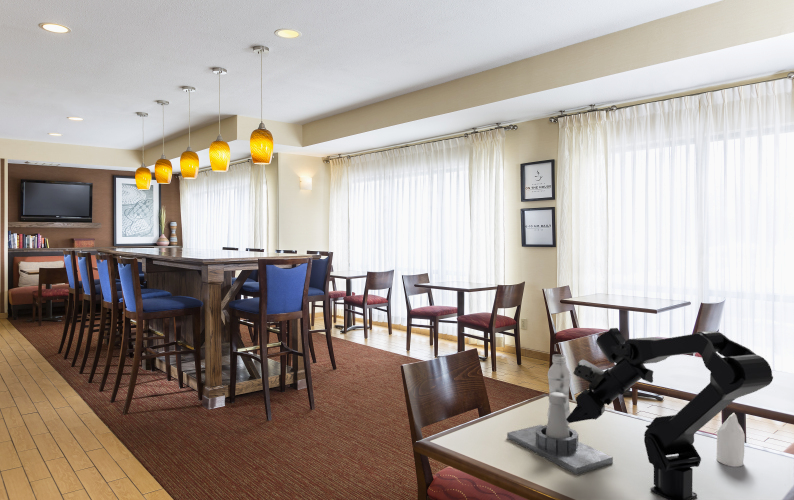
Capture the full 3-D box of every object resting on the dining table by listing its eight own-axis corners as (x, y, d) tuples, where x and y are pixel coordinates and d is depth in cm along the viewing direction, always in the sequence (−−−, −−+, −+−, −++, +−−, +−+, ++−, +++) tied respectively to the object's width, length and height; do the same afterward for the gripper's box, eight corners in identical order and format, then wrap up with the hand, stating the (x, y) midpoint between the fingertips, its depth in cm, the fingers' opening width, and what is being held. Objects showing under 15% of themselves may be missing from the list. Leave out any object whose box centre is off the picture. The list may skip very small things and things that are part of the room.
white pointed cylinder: (716, 406, 126) (744, 410, 123) (716, 454, 126) (743, 459, 124) (717, 413, 121) (745, 417, 118) (716, 463, 121) (745, 469, 118)
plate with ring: (612, 463, 122) (612, 444, 122) (576, 474, 117) (576, 455, 117) (540, 429, 143) (540, 414, 143) (507, 438, 138) (507, 421, 138)
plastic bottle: (547, 428, 144) (547, 358, 144) (547, 420, 151) (547, 352, 150) (571, 430, 143) (571, 359, 142) (570, 422, 149) (570, 353, 148)
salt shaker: (571, 450, 126) (571, 397, 126) (546, 448, 128) (546, 396, 127) (567, 440, 132) (567, 390, 132) (544, 439, 133) (544, 389, 133)
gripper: (603, 343, 132) (560, 380, 138) (585, 358, 116) (537, 399, 123) (636, 378, 128) (590, 414, 134) (622, 399, 112) (571, 438, 118)
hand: (572, 415), depth 127 cm, fingers open, 9 cm apart
